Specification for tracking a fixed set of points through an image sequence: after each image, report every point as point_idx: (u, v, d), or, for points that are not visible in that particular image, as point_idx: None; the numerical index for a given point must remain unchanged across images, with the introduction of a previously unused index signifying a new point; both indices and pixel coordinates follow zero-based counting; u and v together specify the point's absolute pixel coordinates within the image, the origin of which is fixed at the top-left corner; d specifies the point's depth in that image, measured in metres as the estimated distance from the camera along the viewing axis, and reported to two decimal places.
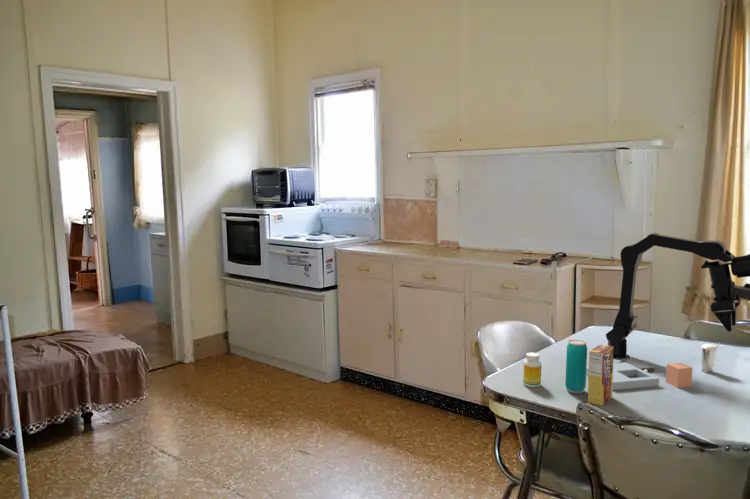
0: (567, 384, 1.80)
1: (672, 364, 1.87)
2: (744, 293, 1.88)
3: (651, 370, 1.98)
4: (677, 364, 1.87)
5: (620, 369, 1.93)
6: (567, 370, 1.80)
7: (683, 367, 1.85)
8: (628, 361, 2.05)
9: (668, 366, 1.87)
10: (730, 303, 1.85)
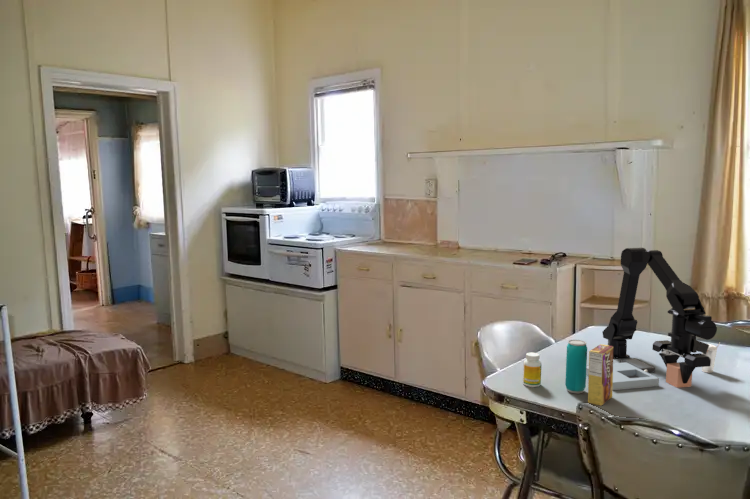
0: (567, 384, 1.80)
1: (672, 364, 1.87)
2: (703, 346, 1.84)
3: (651, 370, 1.98)
4: (677, 364, 1.87)
5: (620, 369, 1.93)
6: (567, 370, 1.80)
7: None
8: (628, 361, 2.05)
9: (668, 366, 1.87)
10: (709, 359, 1.77)
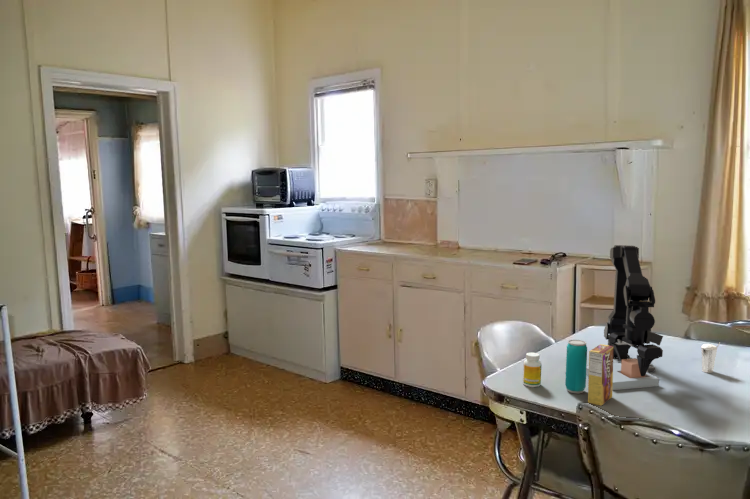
0: (567, 384, 1.80)
1: (626, 360, 1.90)
2: (656, 338, 1.87)
3: (651, 370, 1.98)
4: (631, 360, 1.90)
5: (620, 369, 1.93)
6: (567, 370, 1.80)
7: (637, 363, 1.87)
8: None
9: (623, 362, 1.90)
10: (661, 350, 1.80)
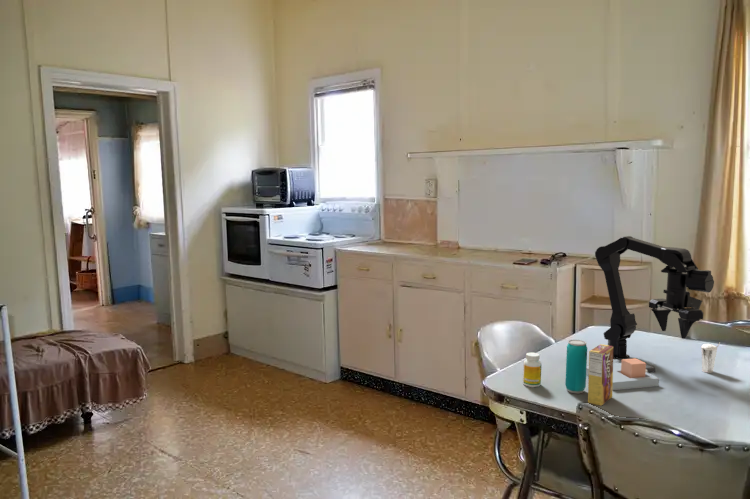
0: (567, 384, 1.80)
1: (626, 360, 1.90)
2: (696, 302, 1.96)
3: (651, 370, 1.98)
4: (631, 360, 1.90)
5: (620, 369, 1.93)
6: (567, 370, 1.80)
7: (637, 363, 1.87)
8: None
9: (623, 362, 1.90)
10: (702, 312, 1.89)
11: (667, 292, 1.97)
